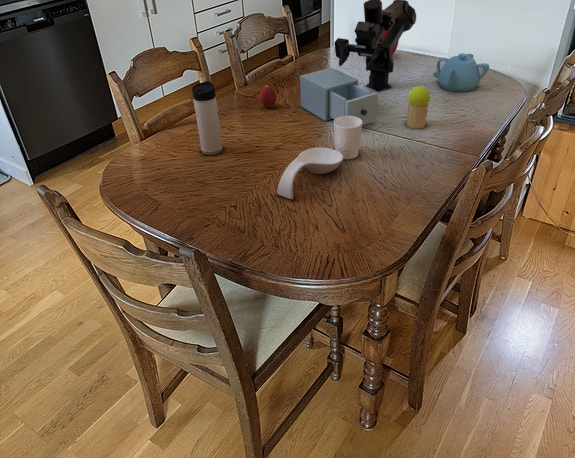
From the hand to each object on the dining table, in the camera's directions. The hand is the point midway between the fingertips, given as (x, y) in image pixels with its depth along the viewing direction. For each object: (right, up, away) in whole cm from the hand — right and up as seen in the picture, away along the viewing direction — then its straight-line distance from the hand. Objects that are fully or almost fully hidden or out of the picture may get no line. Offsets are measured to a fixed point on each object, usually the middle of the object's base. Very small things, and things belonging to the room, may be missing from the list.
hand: (352, 67), depth 156 cm
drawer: (0, -15, +4) cm, 16 cm away
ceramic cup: (+18, +23, +47) cm, 56 cm away
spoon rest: (-14, -37, -22) cm, 46 cm away
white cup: (-3, -29, -13) cm, 32 cm away
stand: (+20, -18, +1) cm, 27 cm away
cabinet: (-7, -10, +13) cm, 18 cm away
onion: (-27, -9, +16) cm, 33 cm away
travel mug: (-43, -27, -7) cm, 51 cm away
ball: (+20, -11, -5) cm, 23 cm away
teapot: (+42, +2, +25) cm, 49 cm away
